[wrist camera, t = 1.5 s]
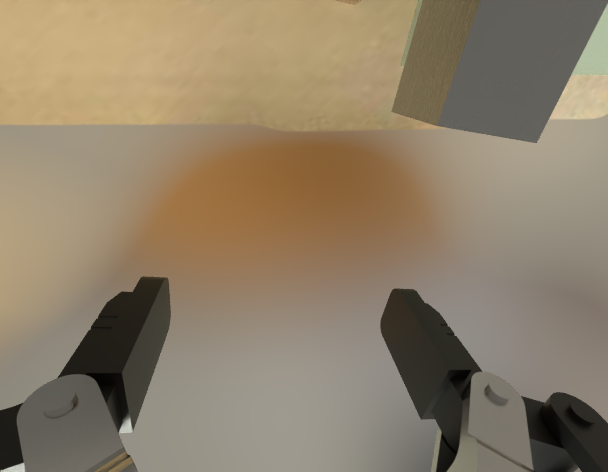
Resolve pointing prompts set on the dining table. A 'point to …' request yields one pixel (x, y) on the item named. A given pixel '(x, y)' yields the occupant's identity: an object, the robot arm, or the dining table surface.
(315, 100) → the dining table surface
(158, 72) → the dining table surface
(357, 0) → the stand
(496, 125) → the rod
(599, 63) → the step
